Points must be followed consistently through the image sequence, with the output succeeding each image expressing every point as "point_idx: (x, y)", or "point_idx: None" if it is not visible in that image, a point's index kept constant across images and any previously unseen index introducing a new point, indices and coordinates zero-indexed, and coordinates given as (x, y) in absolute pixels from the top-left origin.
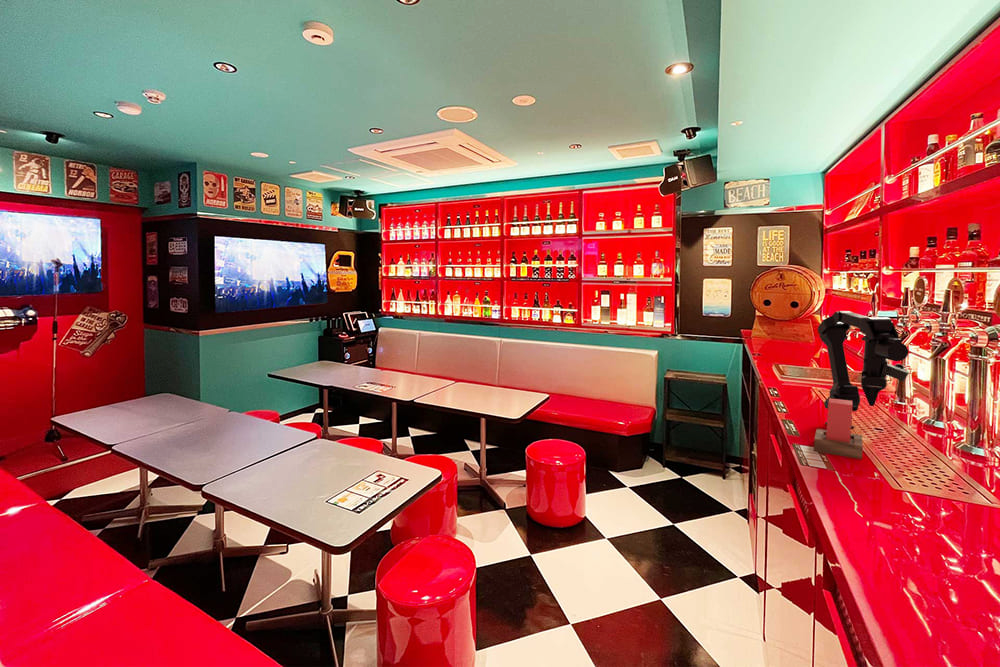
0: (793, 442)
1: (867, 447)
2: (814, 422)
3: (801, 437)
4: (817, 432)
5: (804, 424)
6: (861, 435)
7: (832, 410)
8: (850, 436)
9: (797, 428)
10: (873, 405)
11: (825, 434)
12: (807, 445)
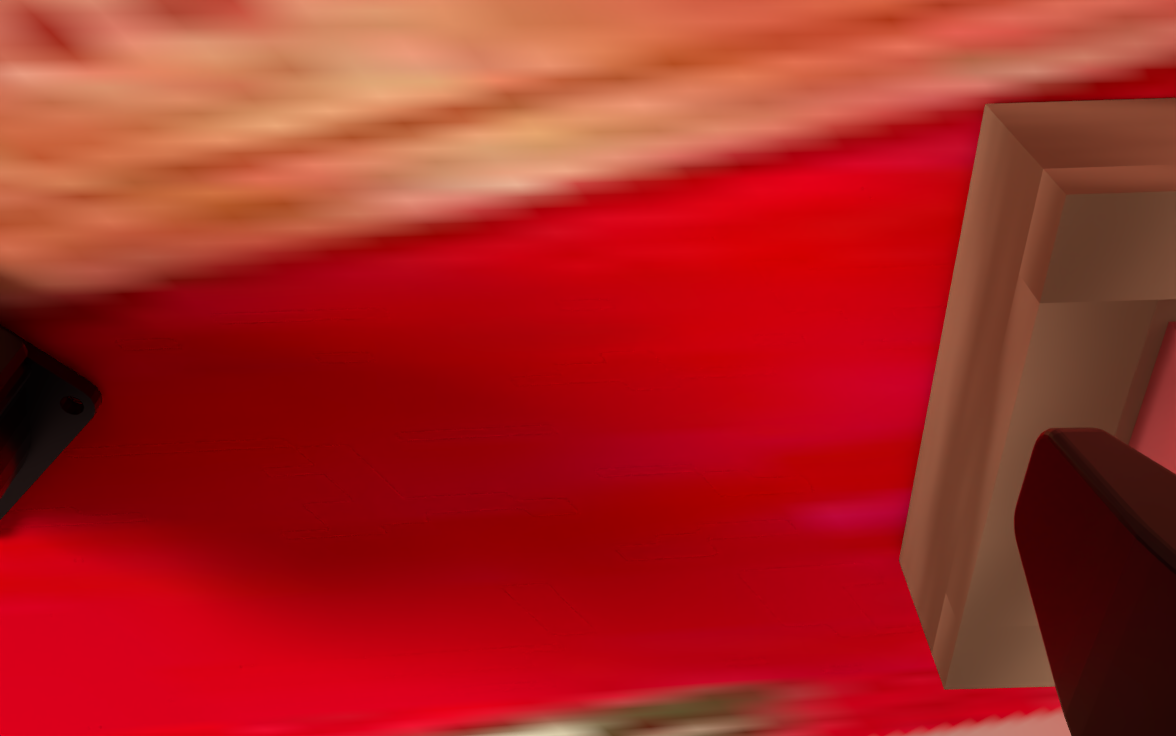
0: None
1: (898, 14)
2: (10, 623)
3: (824, 664)
4: None
5: (213, 688)
6: (1084, 201)
7: None
8: (1131, 333)
9: (459, 719)
10: (1118, 448)
11: None
12: None
